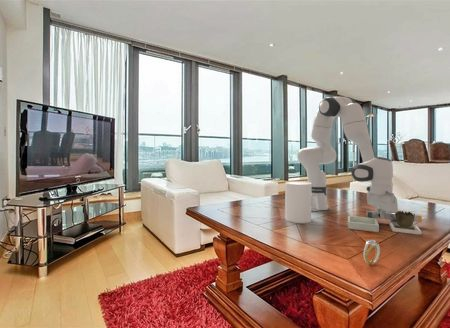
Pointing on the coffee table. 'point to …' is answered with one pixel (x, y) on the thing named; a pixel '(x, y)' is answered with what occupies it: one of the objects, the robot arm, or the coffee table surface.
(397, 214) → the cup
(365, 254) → the ring
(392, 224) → the tray
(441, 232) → the coffee table surface
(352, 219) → the tray
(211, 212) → the coffee table surface
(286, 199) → the canister
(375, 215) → the crank
